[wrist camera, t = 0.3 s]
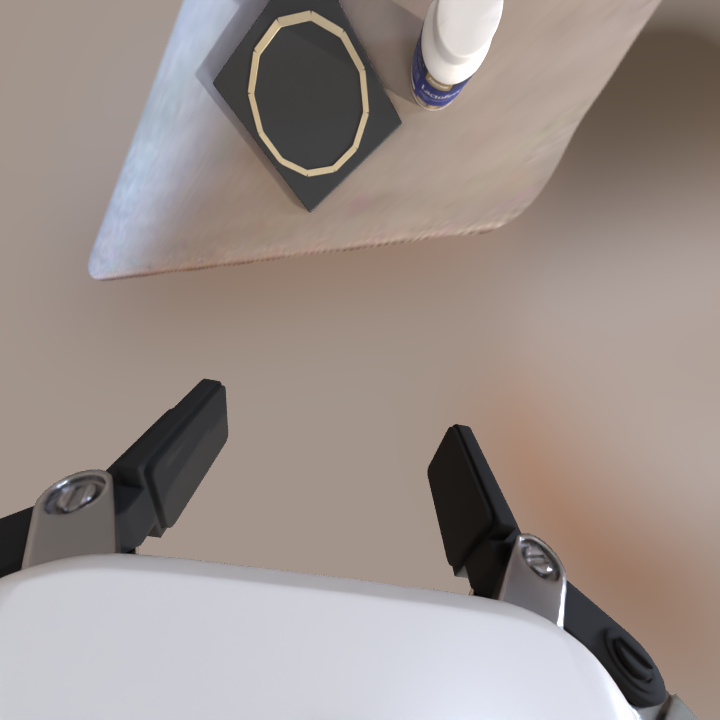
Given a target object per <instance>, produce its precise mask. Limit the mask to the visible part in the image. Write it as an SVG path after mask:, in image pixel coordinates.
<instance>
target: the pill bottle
mask: <svg viewBox="0 0 720 720" xmlns="http://www.w3.org/2000/svg"><path fill="white" fill-rule="evenodd" d="M502 8H503V0H433V2H432V4H431V6H430V8H429V9H428V12H427V14H426V17H425V20H424V23H423V27H422V30H421V33H420V36H419V39H418V43H417V46H416V49H415V52H414V55H413V58H412V62H411V68H410V86H411V90H412V93H413V96H414V98H415V100H416V101H417V102H418V104H419V105H420V106H422V107H423V108H425V109H427V110H433V111H434V110H439V109H442V108H444V107H446V106H447V105H449V104H450V103H451V102H452V101H453V100H454V98H455V97H456V96H457V95H458V93H459V92H460V91H461V90H462V88H463V87H464V86H465V84H466V83H467V82H468V80H469V79H470V78H471V77H472V75H473V74H474V73H475V71H476V70H477V69H478V67H479V66H480V64H481V63H482V61H483V59H484V58H485V56H486V54H487V51H488V49H489V46H490V43H491V39H492V36H493V35H494V33H495V31H496V28H497V26H498V23H499V20H500V17H501V13H502Z"/></svg>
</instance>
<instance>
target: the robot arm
mask: <svg viewBox="0 0 720 720" xmlns="http://www.w3.org/2000/svg"><path fill="white" fill-rule="evenodd" d="M227 438H228V423H227V406H226V390H225V386H222V385H221V382H220V381H215V380H209V379H203V380H202V381H201V382H199V384H197V386H195V388H193V389H192V391H190V392H189V393H188V394H187V395H186V396H185V397H184V398H183V399H182V400H181V401H180V402H179V403H178V404H177V405H176V406H175V407H174V408H172V409H169V410H168V411H167V412H166V413H165V414H164V415H163V416H162V417H160V419H158V420H157V422H155V423H154V424H153V425H152V426H151V427H150V428H149V429H148V430H147V431H146V432H145V433H144V434H143V435H142V436H141V437H140V438H139V439H138V440H137V441H136V442H135V443H134V444H133V445H132V446H131V447H130V448H129V449H128V450H127V451H126V452H125V453H124V454H122V455H121V457H119V458H118V459H117V460H116V461H115V462H114V463H113V464H112V465H111V466H110V467H109V468H108V469H107V470H106V471H103V470H99V469H98V470H86V471H81V472H78V473H75V474H72V475H70V476H67V477H65V478H63V479H61V480H60V481H58V482H56V483H54V484H53V485H52V486H50V487H49V488H48V489H47V490H45V491H44V492H43V493H42V495H41V496H40V497H39V498H38V499H37V501H36V503H35V506H33V507H30V508H27V509H25V510H22V511H19V512H17V513H14V514H12V515H9V516H6V517H4V518H1V519H0V720H699V719H698V718H697V717H696V716H695V715H694V714H693V712H691V710H690V709H689V708H688V707H687V706H686V705H685V704H684V703H683V701H682V700H681V699H680V698H679V697H678V696H677V695H676V694H674V695H670V694H669V693H668V692H667V691H666V689H665V685H664V681H663V679H662V677H661V674H660V672H659V670H658V668H657V667H656V665H655V664H654V662H653V660H652V659H651V657H650V656H649V654H648V653H647V652H646V651H645V649H644V648H643V647H642V646H641V645H640V644H639V642H637V641H636V640H635V639H634V638H633V637H632V636H631V635H630V634H629V633H628V632H627V631H626V630H625V629H623V628H622V627H621V626H620V625H619V624H618V623H616V622H615V621H614V620H613V619H612V618H611V617H609V616H608V615H607V614H606V613H605V612H603V611H602V610H601V609H600V608H599V607H598V606H597V605H595V604H594V603H593V602H592V601H591V600H590V599H588V598H587V597H586V596H585V595H584V594H583V593H581V592H580V591H579V590H578V589H577V588H575V587H574V586H573V585H572V584H571V583H570V582H568V581H567V578H566V571H565V569H564V566H563V564H562V562H561V560H560V559H559V557H558V556H557V554H556V553H555V552H554V551H553V550H552V548H551V547H550V546H549V545H547V544H546V543H545V542H544V541H542V540H541V539H540V538H538V537H536V536H534V535H531V534H529V533H522V534H521V532H520V530H519V528H518V525H517V523H516V521H515V519H514V517H513V514H512V512H511V510H510V508H509V506H508V504H507V502H506V500H505V498H504V496H503V494H502V492H501V490H500V488H499V486H498V484H497V482H496V480H495V477H494V475H493V473H492V471H491V469H490V467H489V465H488V463H487V461H486V459H485V457H484V455H483V453H482V451H481V449H480V447H479V445H478V443H477V440H476V438H475V436H474V434H473V433H472V430H471V428H470V427H468V426H463V425H458V424H455V425H453V427H449V428H448V430H447V432H446V434H445V436H444V438H443V440H442V442H441V444H440V446H439V448H438V450H437V452H436V454H435V455H434V457H433V460H432V461H431V463H430V465H429V467H428V479H429V483H430V488H431V492H432V496H433V500H434V505H435V509H436V514H437V518H438V522H439V526H440V530H441V535H442V539H443V544H444V548H445V552H446V557H447V560H448V562H449V564H450V565H451V566H453V571H454V575H455V576H457V577H465V578H468V579H469V582H470V586H471V590H470V592H469V595H465V594H459V593H452V592H446V591H439V590H431V589H424V588H416V587H409V586H401V585H394V584H386V583H378V582H371V581H363V580H354V579H347V578H339V577H332V576H324V575H316V574H308V573H299V572H292V571H284V570H276V569H268V568H259V567H251V566H243V565H234V564H226V563H218V562H209V561H201V560H192V559H182V558H172V557H162V556H152V555H141V554H139V547H138V546H140V545H141V544H142V543H143V541H144V540H145V538H146V537H147V536H152V537H159V538H161V536H162V535H163V533H164V531H165V530H166V529H167V528H170V527H172V526H173V525H174V524H175V523H176V521H177V519H178V518H179V516H180V515H181V513H182V511H183V510H184V508H185V507H186V505H187V503H188V502H189V500H190V499H191V497H192V495H193V494H194V492H195V490H196V489H197V487H198V486H199V484H200V483H201V481H202V480H203V478H204V476H205V475H206V473H207V472H208V470H209V468H210V467H211V465H212V463H213V462H214V460H215V458H216V457H217V455H218V454H219V452H220V450H221V449H222V448H223V446H224V444H225V443H226V441H227Z"/></svg>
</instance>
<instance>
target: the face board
mask: <svg viewBox="0 0 720 720" xmlns="http://www.w3.org/2000/svg"><path fill="white" fill-rule="evenodd" d="M213 85H214V86H215V87H216V89H217V90H218V91H219V93H220V94H221V95H222V97H223V98H224V99H225V101H226V102H227V103H228V105H229V106H230V107H231V109H232V110H233V111H234V112H235V114H236V115H237V116H238V118H239V119H240V120H241V122H242V123H243V124H244V126H245V127H246V128H247V130H248V131H249V132H250V134H251V135H252V136H253V138H254V139H255V140H256V142H257V143H258V144H259V146H260V147H261V148H262V150H263V151H264V152H265V154H266V155H267V156H268V158H269V159H270V160H271V162H272V163H273V164H274V166H275V167H276V168H277V170H278V171H279V172H280V174H281V175H282V176H283V178H284V179H285V180H286V182H287V183H288V184H289V186H290V187H291V188H292V190H293V191H294V192H295V194H296V195H297V196H298V198H299V199H300V200H301V202H302V203H303V204H304V206H305V207H306V208H307V210H308V211H309V212H312V211H313V210H314V209H315V208H316V207H317V206H318V205H319V204H320V203H321V202H322V201H323V200H324V199H325V198H326V197H327V196H328V195H329V194H330V193H331V192H332V191H333V190H334V189H335V188H336V187H337V186H338V185H339V184H340V183H342V182H343V181H344V180H345V179H346V178H347V177H348V176H349V175H350V174H351V173H352V172H353V171H354V170H355V169H356V168H357V167H358V166H359V165H360V164H361V163H362V162H363V161H364V160H365V159H366V158H367V157H368V156H369V155H370V154H371V153H372V152H374V151H375V150H376V149H377V148H378V147H379V146H380V145H381V144H382V143H383V142H384V141H385V140H386V139H387V138H388V137H389V136H390V135H391V134H392V133H393V132H394V131H395V130H396V129H397V128H398V127H399V126H400V125H401V124H402V122H401V120H400V118H399V116H398V115H397V113H396V111H395V109H394V107H393V105H392V103H391V101H390V99H389V97H388V96H387V94H386V92H385V90H384V88H383V86H382V84H381V82H380V80H379V78H378V77H377V75H376V73H375V71H374V69H373V67H372V65H371V63H370V61H369V59H368V58H367V56H366V54H365V52H364V50H363V48H362V46H361V44H360V42H359V40H358V39H357V37H356V35H355V33H354V31H353V29H352V27H351V25H350V23H349V22H348V20H347V18H346V16H345V14H344V12H343V10H342V8H341V6H340V4H339V3H338V1H337V0H270V2H269V3H268V5H267V6H266V8H265V9H264V10H263V12H262V13H261V15H260V16H259V18H258V19H257V20H256V22H255V23H254V25H253V26H252V28H251V29H250V30H249V32H248V33H247V35H246V36H245V38H244V39H243V40H242V42H241V43H240V45H239V46H238V48H237V49H236V50H235V52H234V53H233V55H232V56H231V58H230V59H229V60H228V62H227V63H226V65H225V66H224V67H223V69H222V70H221V72H220V73H219V75H218V76H217V77H216V79H215V80H214V82H213Z"/></svg>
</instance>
